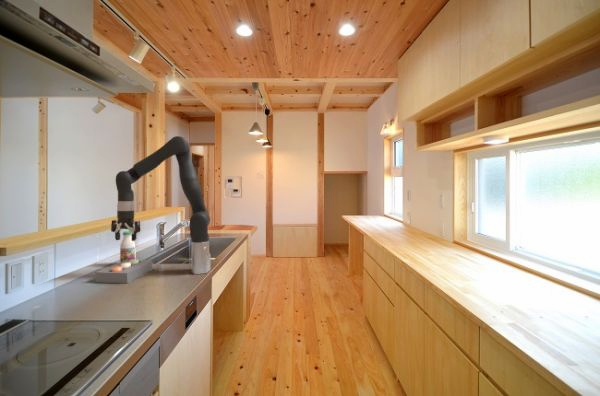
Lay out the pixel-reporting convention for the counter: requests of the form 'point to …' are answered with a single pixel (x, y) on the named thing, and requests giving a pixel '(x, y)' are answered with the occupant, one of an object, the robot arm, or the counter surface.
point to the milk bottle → (127, 247)
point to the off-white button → (126, 264)
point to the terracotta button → (116, 268)
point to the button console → (123, 272)
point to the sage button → (134, 261)
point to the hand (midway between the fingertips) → (125, 240)
